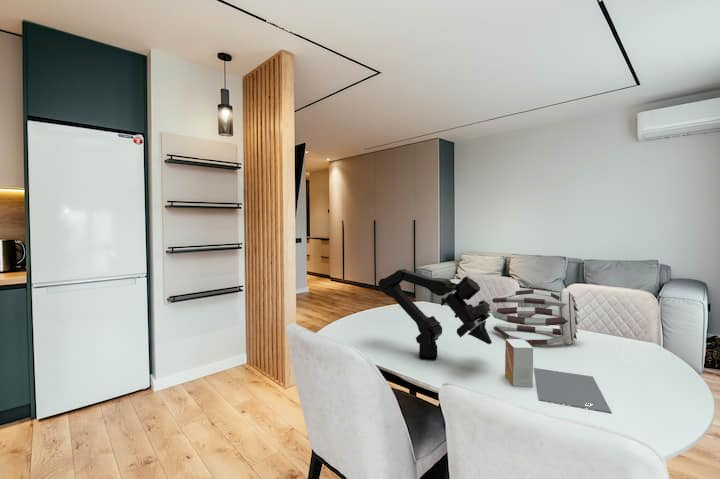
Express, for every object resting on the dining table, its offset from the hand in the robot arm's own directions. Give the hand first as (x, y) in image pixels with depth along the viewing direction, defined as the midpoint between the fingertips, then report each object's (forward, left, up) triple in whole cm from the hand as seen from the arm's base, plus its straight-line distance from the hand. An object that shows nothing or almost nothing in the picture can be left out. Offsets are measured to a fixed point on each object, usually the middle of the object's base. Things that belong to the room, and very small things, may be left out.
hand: (490, 343), depth 121 cm
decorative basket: (+27, +40, -11) cm, 50 cm away
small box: (+8, -5, -11) cm, 14 cm away
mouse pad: (+22, -8, -11) cm, 26 cm away
